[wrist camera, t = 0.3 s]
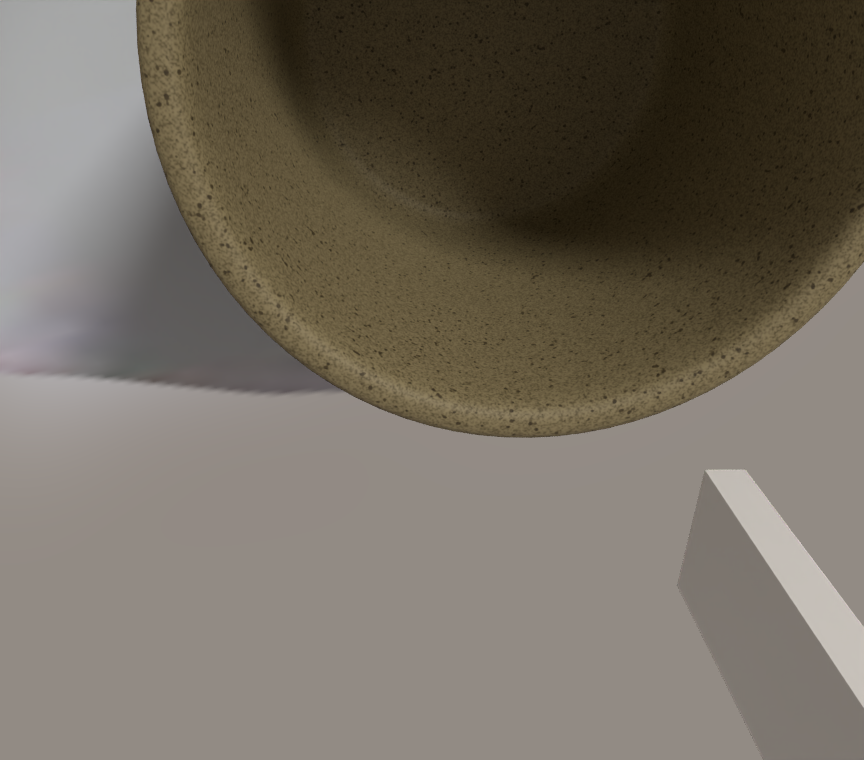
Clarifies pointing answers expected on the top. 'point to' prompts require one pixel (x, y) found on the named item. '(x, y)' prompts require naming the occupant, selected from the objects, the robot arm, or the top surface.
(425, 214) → the planter
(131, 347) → the top surface
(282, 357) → the top surface
